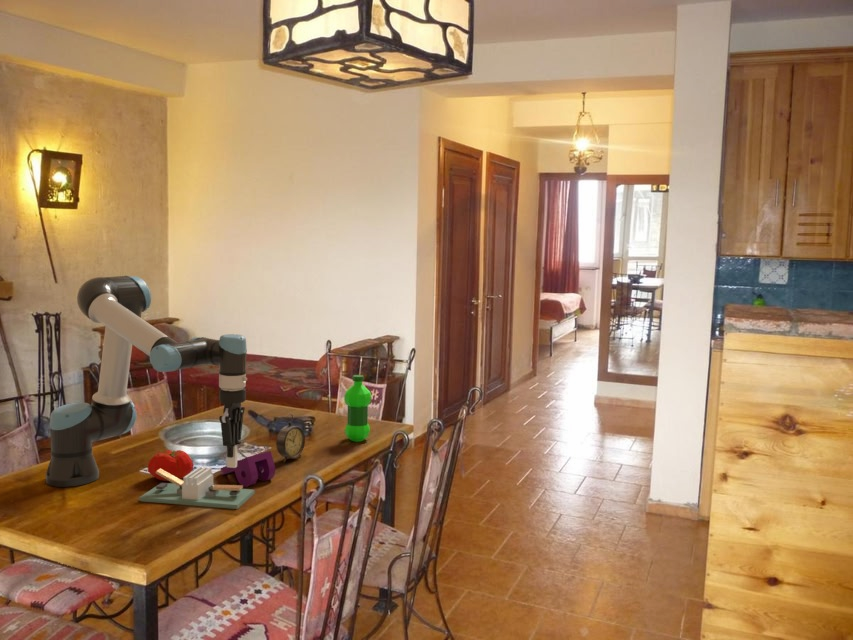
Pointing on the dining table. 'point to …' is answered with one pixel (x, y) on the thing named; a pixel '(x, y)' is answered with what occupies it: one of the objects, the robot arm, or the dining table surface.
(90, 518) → the dining table surface
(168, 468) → the tomato
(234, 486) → the strap
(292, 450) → the alarm clock
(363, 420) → the plastic bottle
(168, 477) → the strap
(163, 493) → the board
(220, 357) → the robot arm
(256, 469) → the mounting bracket
